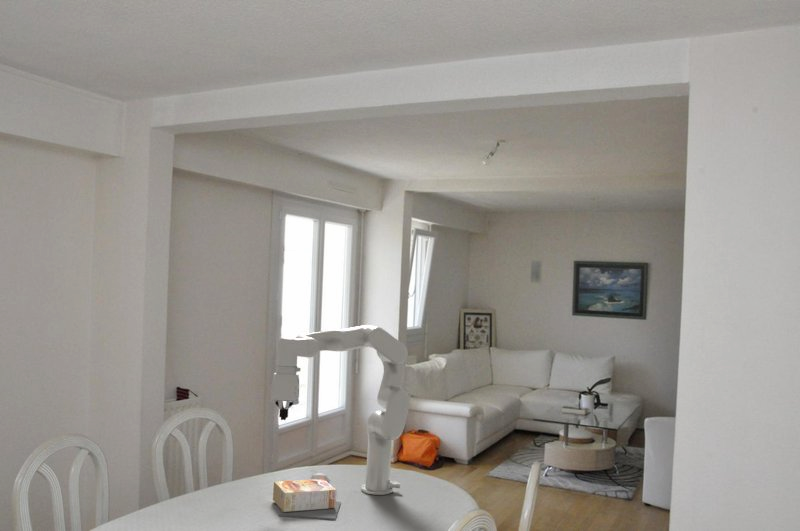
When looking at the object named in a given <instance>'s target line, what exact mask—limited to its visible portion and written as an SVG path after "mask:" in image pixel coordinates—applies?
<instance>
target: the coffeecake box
mask: <svg viewBox="0 0 800 531" xmlns="http://www.w3.org/2000/svg"><path fill="white" fill-rule="evenodd" d="M272 501H273V502H274V503H275V504H276V505H277V506H278V507H279V508H280V510H281V509H282V510H283V512H291V511H303V510H316V509H329V508H335V505H336V502H337V489H336V488H335V487H334V486H332V484H331V483H330V484H329V483H328V482H327V481H326V480H324V479H313V480H309V479H300V480H299V479H297V480H285V481H284V480H282V481H281V480H280V481H279V480H278V481H273V492H272Z"/></svg>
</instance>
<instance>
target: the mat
mask: <svg viewBox="0 0 800 531" xmlns="http://www.w3.org/2000/svg"><path fill="white" fill-rule="evenodd" d="M341 503H342V502H341V501H336V505H335V508H329V509H316V510H303V511H291V512H283V510H282V509H281V508H280V511H279V512H278V517H287V518H300V519H301V518H302V519H313V520H314V519H315V520H327V521H328V520H329V521H336V519H337V516H338V513H339V510H340V508H341Z"/></svg>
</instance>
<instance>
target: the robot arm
mask: <svg viewBox="0 0 800 531" xmlns="http://www.w3.org/2000/svg"><path fill="white" fill-rule="evenodd" d="M362 348H363V349H364V348H371V349H373V350H375V351H376V355H377V356H378V359H380V361H381V363H382V366H383V374H382V379H381V382H380V386H379V389H378V393H377V397H376V398H377V400H376V401H377V404H378V405H379V406H380V407H382V408H383V409H385V411H383V410H375V411H374V412H372V413H370V415H369V417H368V419H367V422H366V423H367V424H366V429H367V430H366V431H367V452H366V453H367V454H366V468H365V472H366V473H365V483H364V484H362V485H361V487H360V489H361V491H362V492H363V493H365V494H369V495H372V496H373V495H374V496H385V495H390V494H392V493H393V490H394V489H401V483H399V482H398V481H392V480H391V477H390V476H391V472H390V471H391V462H392V460H391V459H392V442H393V441H395V440H397V439H398V438H400V436H402V434H403V431H404V429H405V425H406V422H407V417H408V413H409V409H410V406H411V402H410V401H411V400H410V399H411V398H410V396H409V395H410V394H409V393H408V392H407V391H406V390H405V389H403V384H404V378H405V370H406V369H405V365H404V363H405V362H406V360H407V359H408V356H409V355H408V354H409V352H408V348H407V347H406V345H404V344H403V343H402V342H401V341H400V340H398V339H397V338H395V337H394V336H393V335H391V334H390V333H389V332H388V331H386V330H385V329H384V328H382V327H379V326H375V325H370V324H365V325H360V326H353V327H349V328H342V329H333V330H327V331H318V332H317V331H316V332H310V333H305V334H300V335H298V336H296V337H293V336H281V337H279V338H278V341H277V351H276V367H275V368H276V370H275V372H274V373H273V378H272V382H271V389H270V399H269V402H270V403H271V404H274V405H276V406H277V407H278V409H279V417H278V418H280V420H281V421H286V420H287V418H288V417H289V408H291V407H292V406H295V405H299V404H300V400H299V398H300V376H299V373H298V372H301V367H298V366H297V365H298V357H300V358H307V359H308V358H309V359H310V358H315V356H316V357H317V355H319V353H320V352H323V351H330V352H346V351H351V350H356V349H362ZM284 402H286V403H285V407H284Z"/></svg>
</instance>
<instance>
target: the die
mask: <svg viewBox="0 0 800 531" xmlns="http://www.w3.org/2000/svg"><path fill="white" fill-rule="evenodd" d="M313 479H324V480H326V481H327V482H328V483H329V484H330V485H331V483H330V481H331V480H330V479H329V477H328V476H327V475H326V474H324V473H322V472H316V473H314V474H312V475H310V478H309V479H308V480H313Z"/></svg>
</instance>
